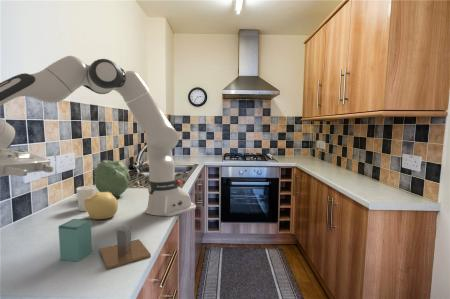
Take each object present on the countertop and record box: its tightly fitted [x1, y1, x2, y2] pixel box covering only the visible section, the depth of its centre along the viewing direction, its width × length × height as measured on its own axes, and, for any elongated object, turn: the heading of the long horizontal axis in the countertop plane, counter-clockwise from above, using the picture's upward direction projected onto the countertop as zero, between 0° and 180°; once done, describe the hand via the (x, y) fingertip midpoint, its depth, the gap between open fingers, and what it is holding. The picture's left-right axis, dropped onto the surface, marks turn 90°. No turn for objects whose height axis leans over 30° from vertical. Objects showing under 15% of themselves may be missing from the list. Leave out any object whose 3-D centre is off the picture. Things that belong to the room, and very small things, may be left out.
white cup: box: [76, 185, 97, 212], centre depth 116 cm, size 8×8×10 cm
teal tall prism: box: [58, 218, 93, 263], centre depth 75 cm, size 6×6×10 cm
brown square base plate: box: [99, 226, 152, 270], centre depth 76 cm, size 17×17×8 cm
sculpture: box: [84, 191, 119, 220], centre depth 106 cm, size 11×12×11 cm
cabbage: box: [92, 159, 131, 198], centre depth 136 cm, size 16×19×20 cm
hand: (39, 171), depth 76 cm, fingers open, 8 cm apart
